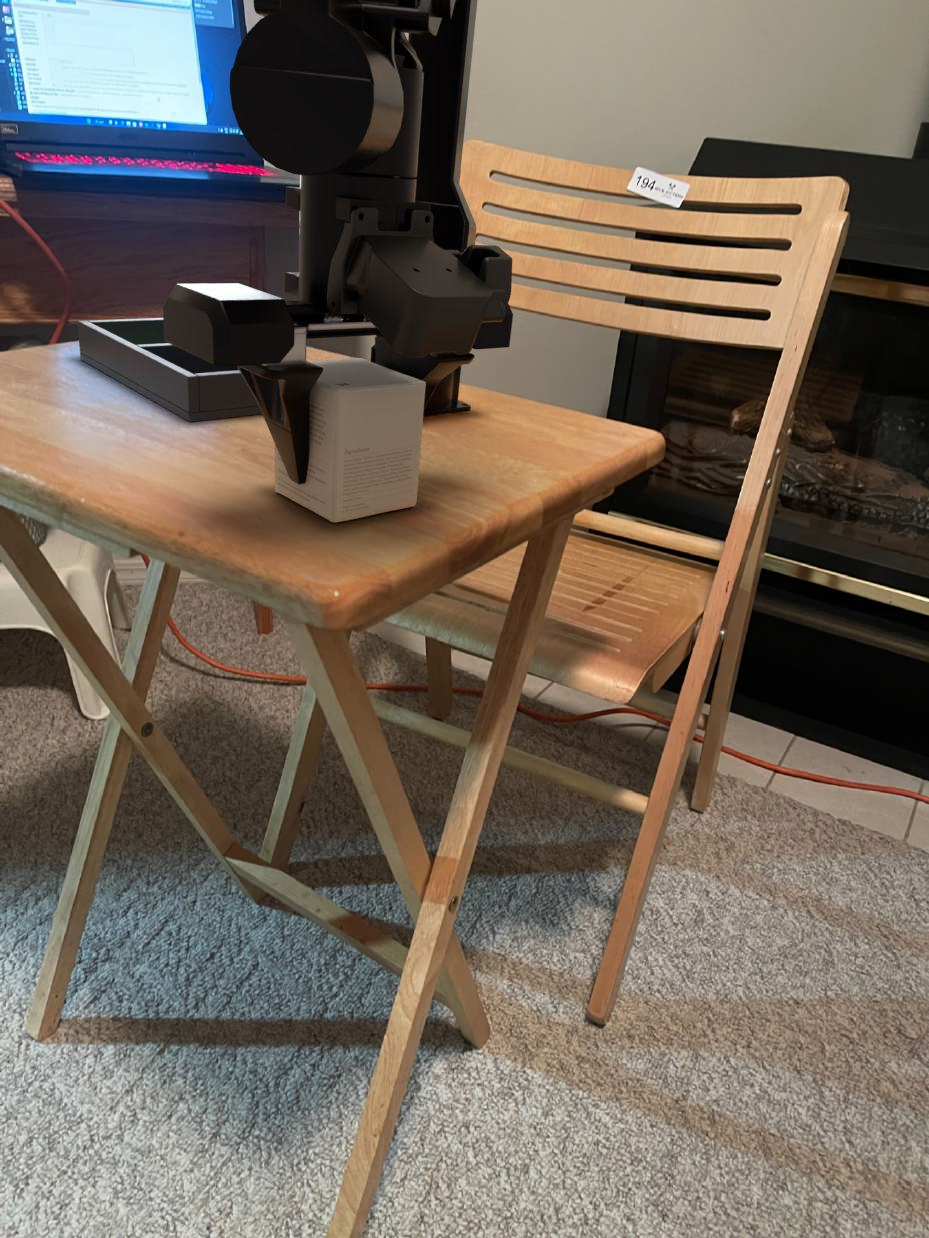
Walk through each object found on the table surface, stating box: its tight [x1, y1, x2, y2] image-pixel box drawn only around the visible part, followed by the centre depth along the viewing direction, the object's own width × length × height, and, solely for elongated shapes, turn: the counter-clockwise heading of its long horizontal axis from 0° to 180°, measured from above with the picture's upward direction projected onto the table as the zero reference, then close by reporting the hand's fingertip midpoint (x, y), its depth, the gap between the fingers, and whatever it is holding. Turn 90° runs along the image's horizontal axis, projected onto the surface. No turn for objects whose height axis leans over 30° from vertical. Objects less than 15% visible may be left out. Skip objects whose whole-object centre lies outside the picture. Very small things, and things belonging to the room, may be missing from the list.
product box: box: [274, 357, 426, 523], centre depth 52 cm, size 6×6×7 cm
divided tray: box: [76, 317, 263, 423], centre depth 73 cm, size 10×19×3 cm, turn 41°
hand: (345, 474), depth 53 cm, fingers closed on product box, 6 cm apart
